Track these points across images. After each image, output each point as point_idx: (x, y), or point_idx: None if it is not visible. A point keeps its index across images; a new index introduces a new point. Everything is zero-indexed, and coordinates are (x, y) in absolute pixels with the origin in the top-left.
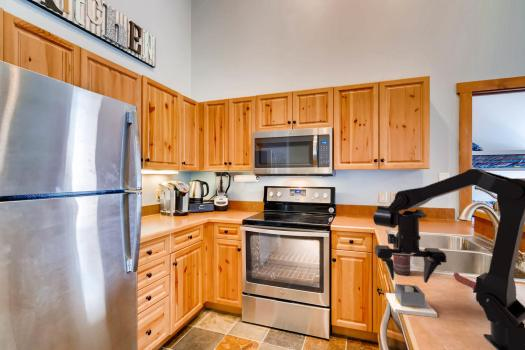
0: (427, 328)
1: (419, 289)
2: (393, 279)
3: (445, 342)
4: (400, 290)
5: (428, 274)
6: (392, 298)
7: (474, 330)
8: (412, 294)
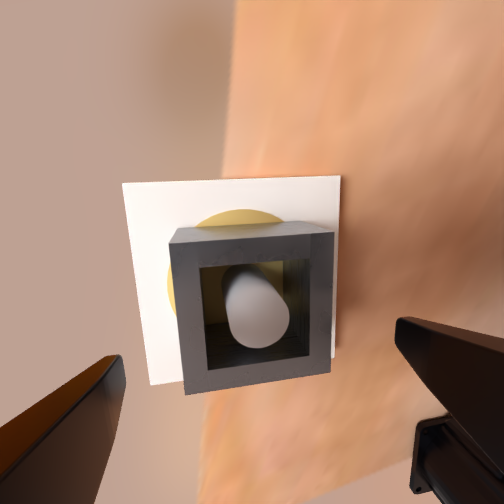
0: (258, 443)
1: (327, 298)
2: (121, 394)
3: (286, 497)
4: (188, 362)
5: (485, 444)
6: (156, 260)
7: (410, 395)
8: (257, 379)
